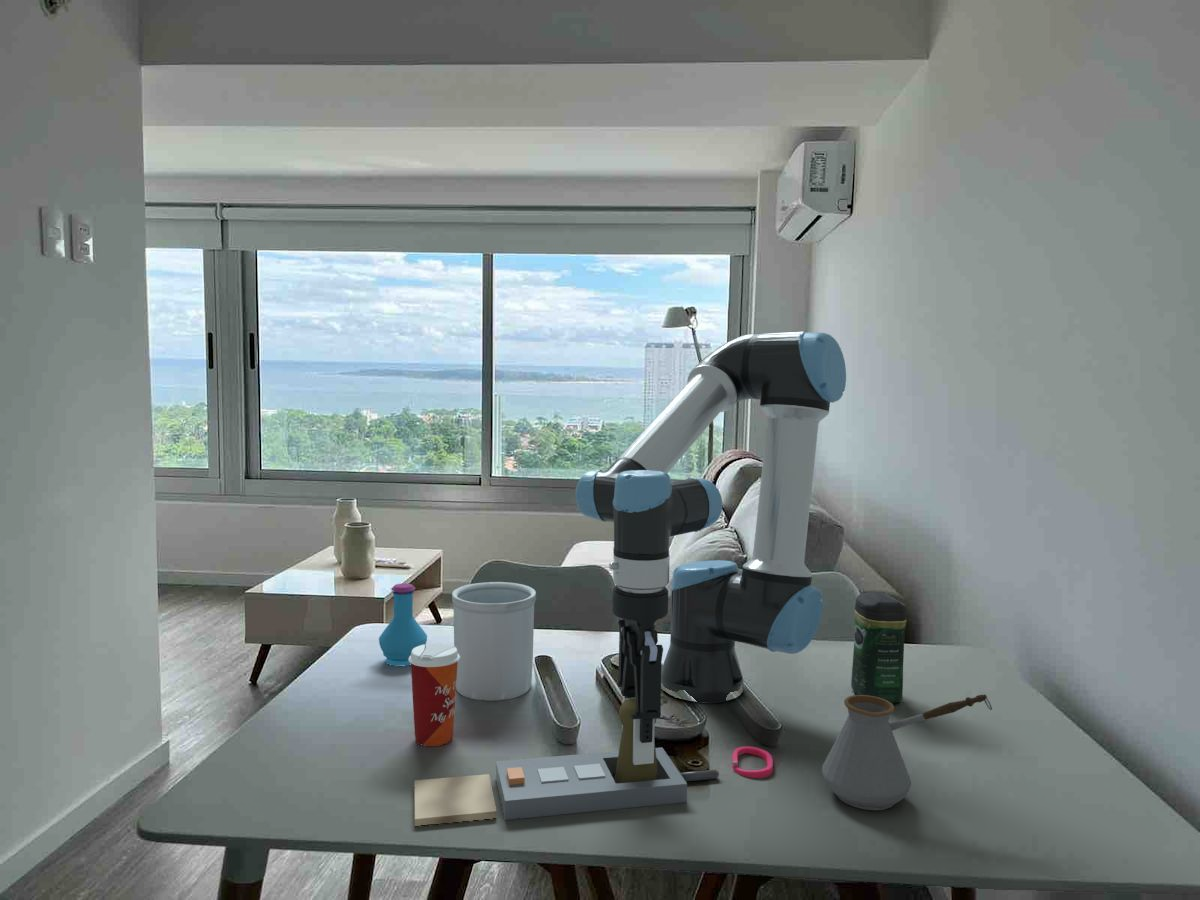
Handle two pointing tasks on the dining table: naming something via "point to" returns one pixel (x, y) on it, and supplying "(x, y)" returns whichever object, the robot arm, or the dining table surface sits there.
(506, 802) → the power strip
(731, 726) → the dining table surface
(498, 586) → the utensil holder
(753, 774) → the fitness band
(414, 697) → the paper cup
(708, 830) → the dining table surface
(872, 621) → the coffee jar
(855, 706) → the coffee pot
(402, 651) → the perfume bottle
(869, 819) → the dining table surface
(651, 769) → the olive knobbed peg
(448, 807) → the oak board
